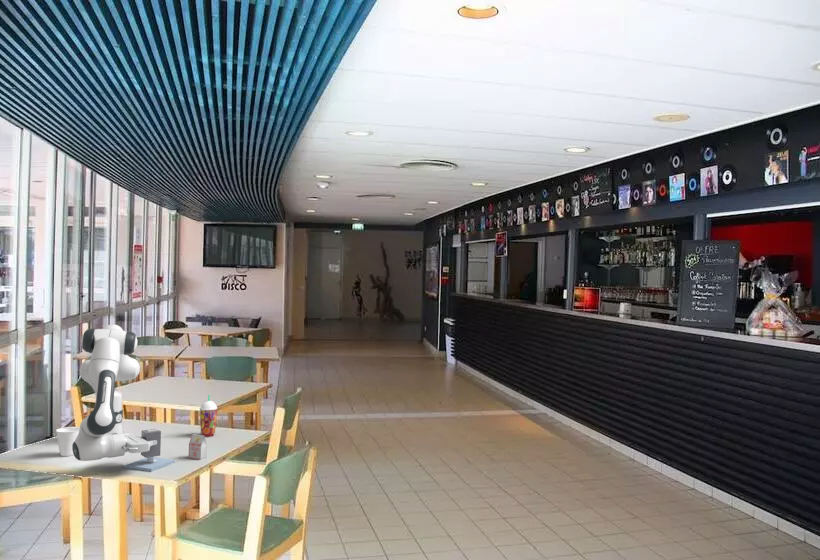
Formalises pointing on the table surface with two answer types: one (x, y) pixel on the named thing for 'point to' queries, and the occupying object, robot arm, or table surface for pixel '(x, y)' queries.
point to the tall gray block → (149, 436)
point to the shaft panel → (150, 464)
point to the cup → (67, 439)
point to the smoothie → (208, 418)
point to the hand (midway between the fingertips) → (153, 440)
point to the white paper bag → (197, 447)
